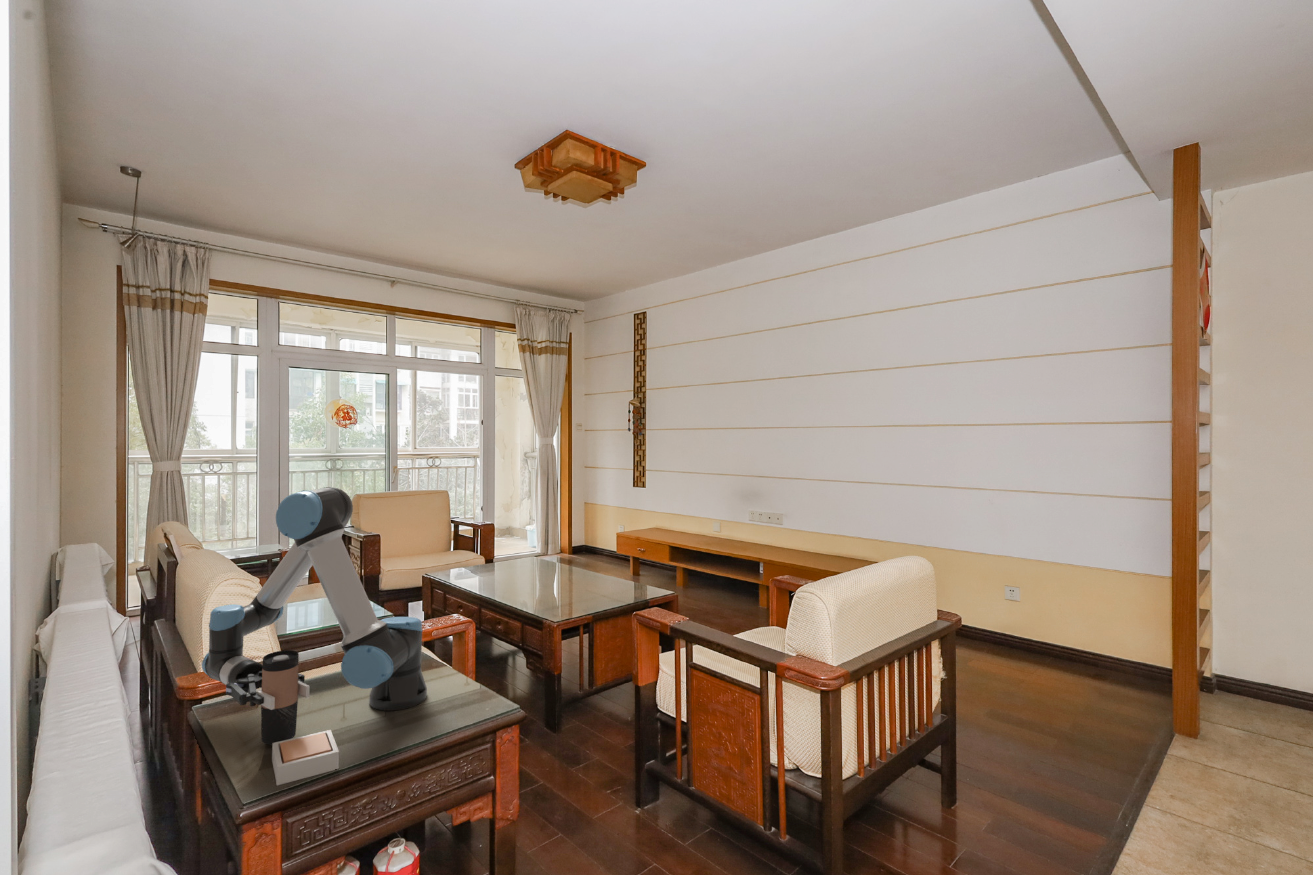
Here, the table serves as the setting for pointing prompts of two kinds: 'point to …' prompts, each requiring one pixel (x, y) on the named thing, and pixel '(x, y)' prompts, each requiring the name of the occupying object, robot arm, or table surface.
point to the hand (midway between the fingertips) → (290, 697)
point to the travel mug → (280, 696)
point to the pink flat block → (304, 747)
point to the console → (305, 762)
